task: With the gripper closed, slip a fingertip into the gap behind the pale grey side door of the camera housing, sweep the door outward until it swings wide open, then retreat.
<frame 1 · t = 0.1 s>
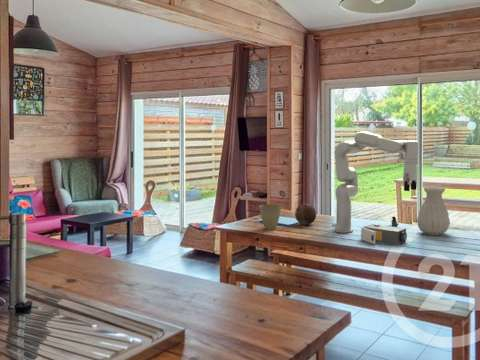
hand: (410, 190, 291), 31 cm above the table, fingers open, 9 cm apart
binoculars: (390, 233, 318), on the table
plant pot: (270, 229, 333), on the table
vase: (432, 233, 317), on the table
camera housing: (384, 240, 297), on the table
wooden sphere: (305, 225, 348), on the table
side door: (367, 235, 293), point 4 cm above the table, hinge at 30.0°
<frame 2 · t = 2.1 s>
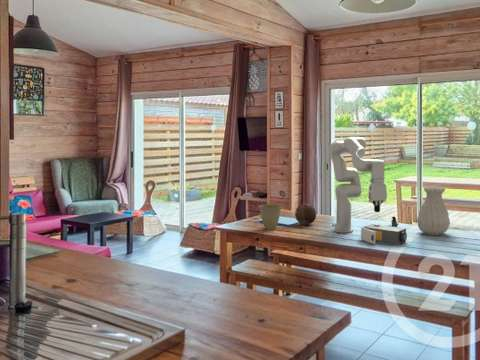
hand: (377, 211, 289), 19 cm above the table, fingers closed
nothing on the table moved.
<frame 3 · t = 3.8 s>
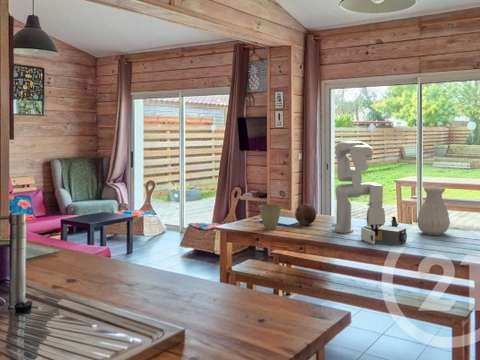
hand: (375, 235, 290), 5 cm above the table, fingers closed
side door: (367, 235, 293), point 4 cm above the table, hinge at 31.5°, touching gripper
everything else where it was.
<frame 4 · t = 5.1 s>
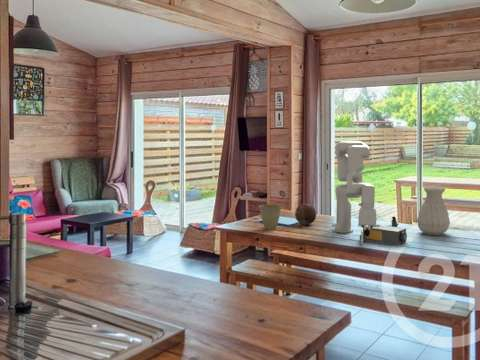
hand: (366, 236, 289), 5 cm above the table, fingers closed
side door: (361, 235, 293), point 4 cm above the table, hinge at 60.3°, touching gripper
everything else where it was.
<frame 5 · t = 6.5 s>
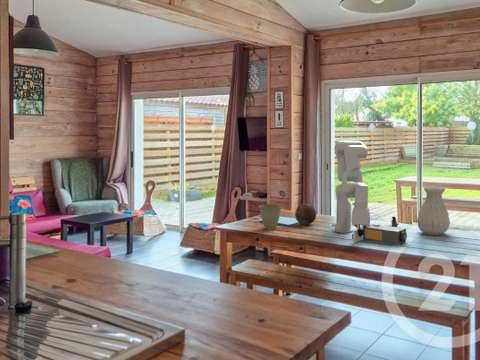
hand: (360, 235, 289), 5 cm above the table, fingers closed
side door: (357, 235, 294), point 4 cm above the table, hinge at 80.1°
everything else where it was.
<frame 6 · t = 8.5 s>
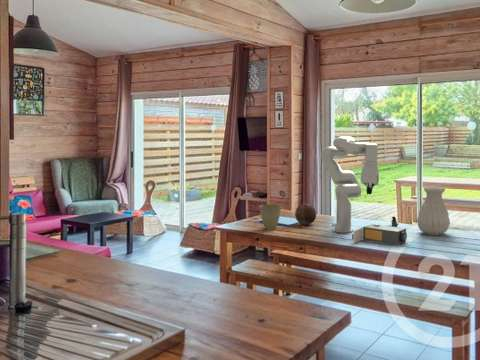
hand: (369, 193, 298), 28 cm above the table, fingers closed
nothing on the table moved.
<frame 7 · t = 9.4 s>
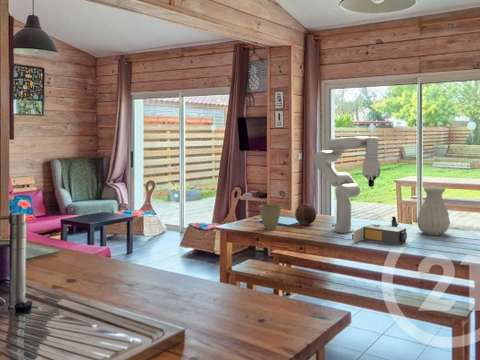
hand: (371, 186, 303), 32 cm above the table, fingers closed
nothing on the table moved.
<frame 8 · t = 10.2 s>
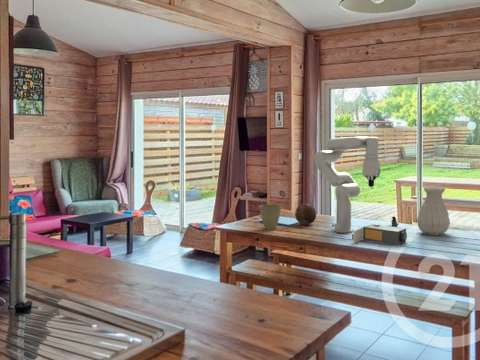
hand: (371, 186, 303), 32 cm above the table, fingers closed
nothing on the table moved.
at the end: side door at +80° (first picture: +30°) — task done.
